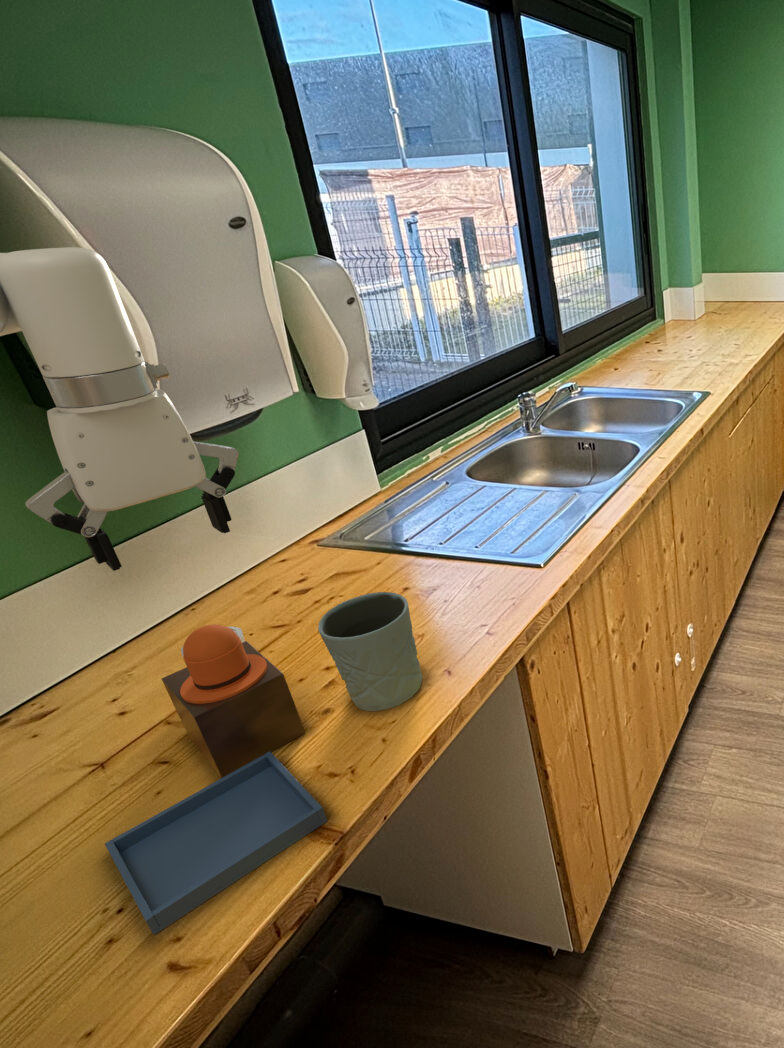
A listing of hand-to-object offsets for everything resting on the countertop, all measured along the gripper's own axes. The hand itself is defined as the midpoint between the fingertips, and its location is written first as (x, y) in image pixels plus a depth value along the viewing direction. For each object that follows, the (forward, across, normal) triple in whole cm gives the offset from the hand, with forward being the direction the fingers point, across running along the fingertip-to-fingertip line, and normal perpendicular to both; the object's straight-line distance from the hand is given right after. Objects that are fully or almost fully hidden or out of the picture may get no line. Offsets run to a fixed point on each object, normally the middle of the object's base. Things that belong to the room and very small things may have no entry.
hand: (170, 547), depth 73 cm
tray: (+26, +8, +14) cm, 30 cm away
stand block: (+26, 0, -1) cm, 26 cm away
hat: (+17, 0, 0) cm, 17 cm away
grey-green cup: (+26, -14, +5) cm, 30 cm away
